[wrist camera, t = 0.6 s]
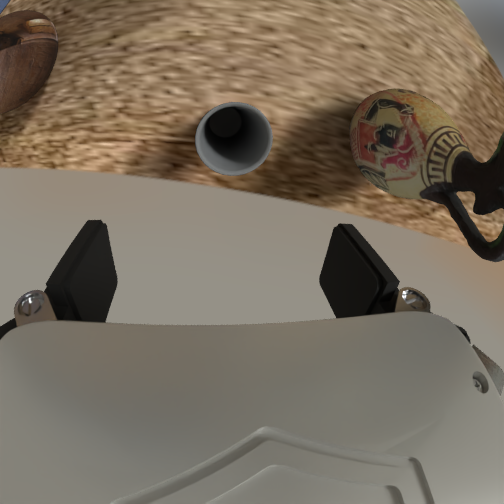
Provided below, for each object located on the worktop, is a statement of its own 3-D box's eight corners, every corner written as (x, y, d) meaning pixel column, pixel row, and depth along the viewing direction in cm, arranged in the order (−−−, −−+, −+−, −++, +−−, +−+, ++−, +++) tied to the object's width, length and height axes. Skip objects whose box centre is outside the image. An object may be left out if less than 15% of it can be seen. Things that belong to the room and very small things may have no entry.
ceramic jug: (339, 73, 32) (524, 97, 8) (415, 101, 35) (567, 160, 10) (320, 176, 41) (447, 311, 17) (394, 188, 44) (515, 294, 20)
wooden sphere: (4, 114, 25) (-55, 137, 13) (9, 35, 17) (-48, 34, 5) (72, 95, 28) (12, 106, 16) (81, 7, 20) (29, -17, 7)
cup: (203, 147, 36) (200, 180, 24) (198, 101, 33) (190, 107, 20) (251, 142, 37) (274, 171, 25) (248, 96, 33) (270, 99, 21)
